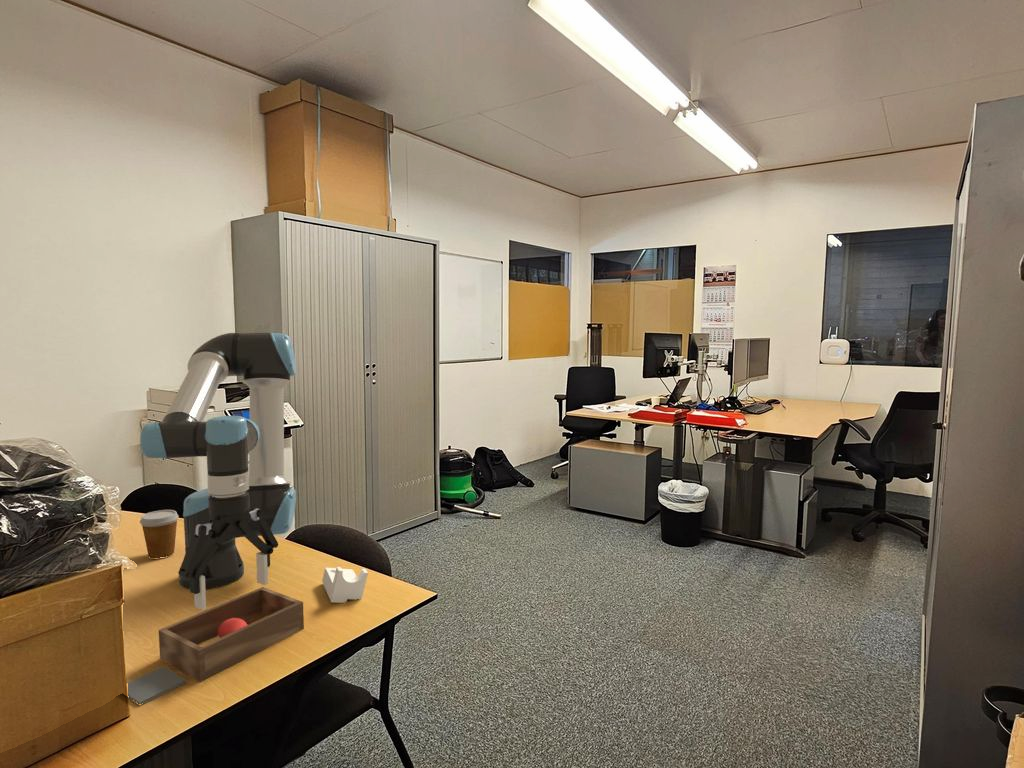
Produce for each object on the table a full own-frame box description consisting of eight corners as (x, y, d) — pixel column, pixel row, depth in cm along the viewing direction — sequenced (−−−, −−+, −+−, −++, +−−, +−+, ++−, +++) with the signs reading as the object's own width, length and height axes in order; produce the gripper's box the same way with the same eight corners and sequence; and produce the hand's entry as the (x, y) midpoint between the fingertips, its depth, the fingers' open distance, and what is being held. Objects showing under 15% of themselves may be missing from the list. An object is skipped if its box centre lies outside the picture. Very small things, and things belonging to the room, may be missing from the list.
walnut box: (160, 659, 116) (158, 630, 116) (263, 612, 135) (262, 586, 135) (200, 681, 109) (198, 650, 108) (303, 628, 128) (303, 602, 127)
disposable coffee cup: (187, 553, 171) (185, 512, 170) (152, 564, 163) (150, 521, 162) (169, 546, 176) (167, 507, 175) (135, 557, 168) (132, 516, 167)
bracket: (360, 603, 142) (368, 572, 142) (331, 602, 139) (338, 570, 139) (349, 582, 154) (356, 554, 154) (322, 581, 151) (329, 552, 151)
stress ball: (251, 637, 127) (237, 611, 127) (258, 639, 120) (243, 612, 120) (227, 653, 124) (212, 627, 124) (233, 656, 117) (218, 629, 117)
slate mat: (117, 690, 106) (116, 687, 106) (163, 669, 113) (162, 666, 113) (139, 705, 102) (139, 702, 102) (186, 682, 108) (186, 679, 108)
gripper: (176, 511, 107) (181, 624, 108) (293, 482, 128) (296, 578, 129) (154, 505, 111) (160, 614, 112) (271, 478, 132) (274, 570, 133)
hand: (233, 595), depth 121 cm, fingers open, 13 cm apart
